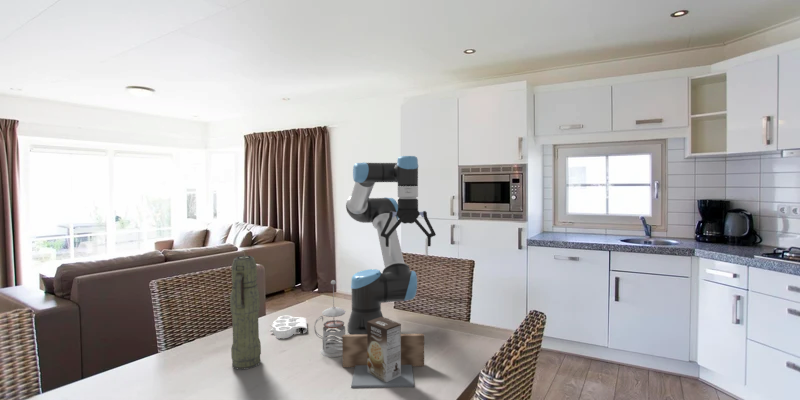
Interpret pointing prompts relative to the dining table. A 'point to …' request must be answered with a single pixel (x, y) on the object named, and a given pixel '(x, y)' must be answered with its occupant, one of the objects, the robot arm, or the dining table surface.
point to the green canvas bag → (245, 313)
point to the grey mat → (368, 380)
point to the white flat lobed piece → (288, 326)
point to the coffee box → (384, 348)
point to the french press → (332, 346)
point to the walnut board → (357, 349)
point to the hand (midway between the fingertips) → (408, 255)
